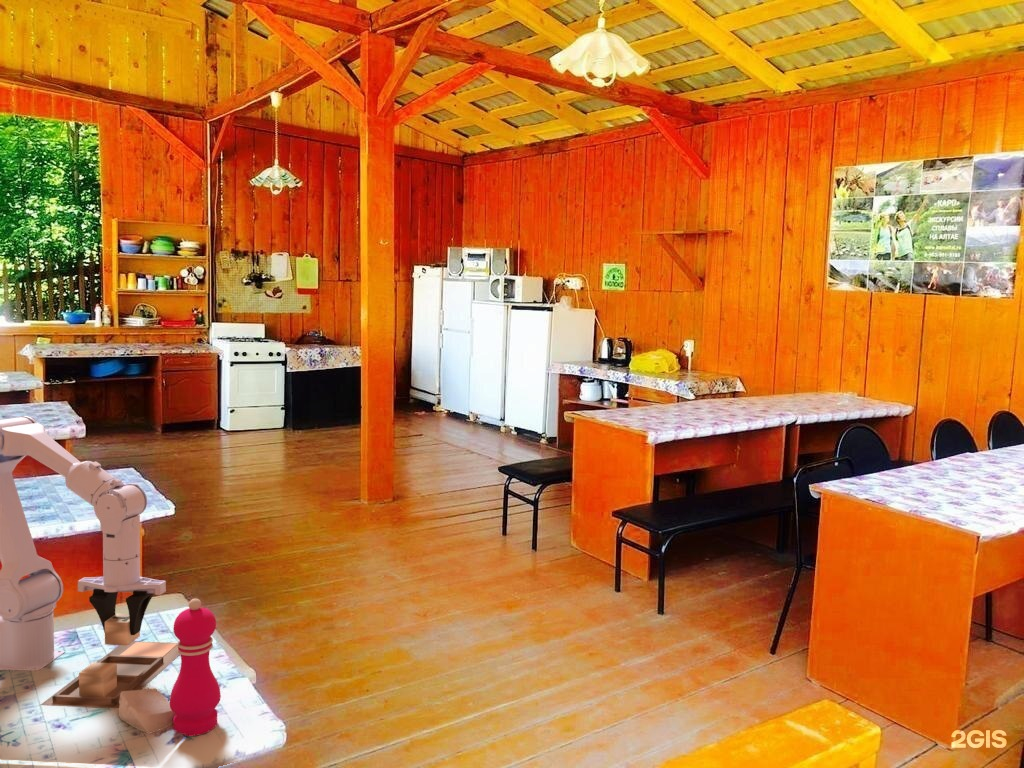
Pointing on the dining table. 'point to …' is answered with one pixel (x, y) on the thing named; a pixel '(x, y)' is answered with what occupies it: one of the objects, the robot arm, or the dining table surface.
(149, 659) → the organiser
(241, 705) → the dining table surface
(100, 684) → the blank cube
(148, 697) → the tan faceted block
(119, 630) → the letter cube
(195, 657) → the pepper mill
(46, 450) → the robot arm
